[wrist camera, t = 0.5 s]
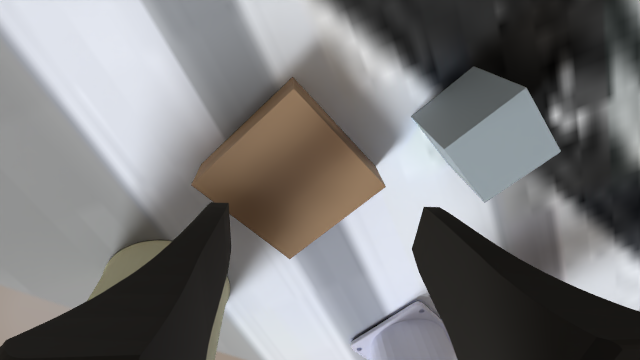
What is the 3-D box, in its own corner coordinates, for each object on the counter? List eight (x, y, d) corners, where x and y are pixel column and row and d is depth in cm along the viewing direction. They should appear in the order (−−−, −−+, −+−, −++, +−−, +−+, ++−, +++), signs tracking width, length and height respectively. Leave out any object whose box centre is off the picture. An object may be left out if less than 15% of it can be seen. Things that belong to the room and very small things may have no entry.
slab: (374, 164, 23) (385, 186, 20) (289, 231, 25) (289, 259, 22) (292, 75, 19) (293, 88, 17) (202, 161, 22) (191, 184, 19)
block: (505, 119, 22) (560, 151, 17) (446, 162, 23) (484, 202, 19) (473, 66, 20) (526, 87, 15) (410, 116, 21) (444, 149, 17)
